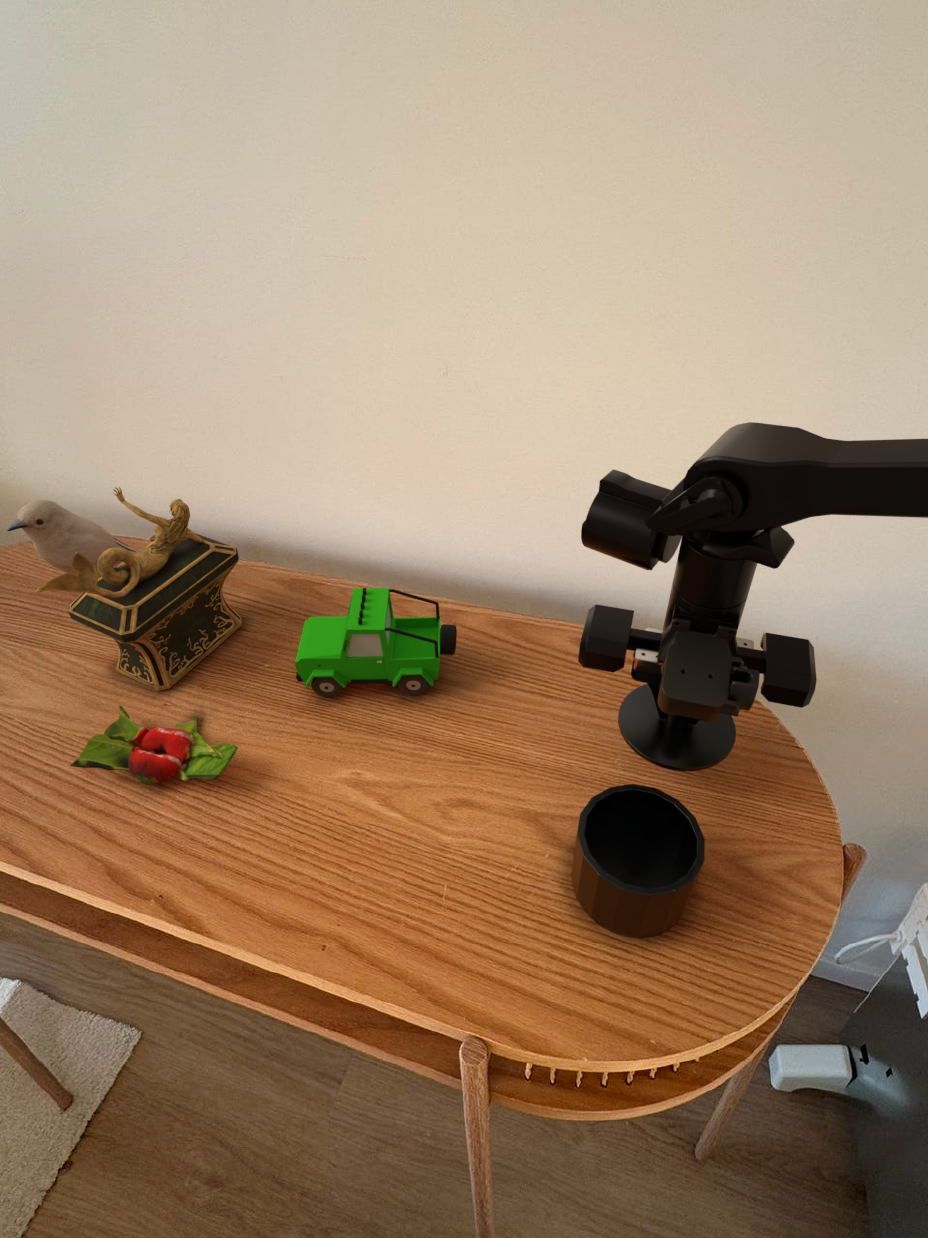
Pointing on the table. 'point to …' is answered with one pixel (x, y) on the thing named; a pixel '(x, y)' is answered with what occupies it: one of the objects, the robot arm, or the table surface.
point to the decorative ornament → (155, 751)
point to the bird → (64, 535)
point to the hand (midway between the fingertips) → (677, 718)
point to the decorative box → (156, 598)
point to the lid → (673, 735)
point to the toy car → (373, 646)
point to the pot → (636, 860)
